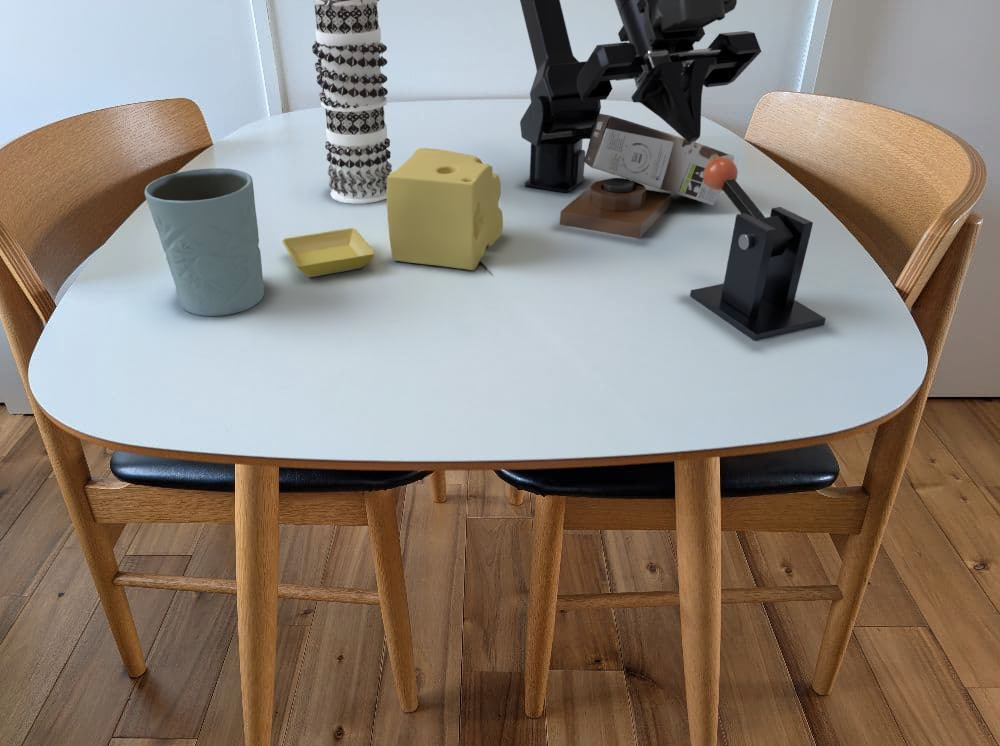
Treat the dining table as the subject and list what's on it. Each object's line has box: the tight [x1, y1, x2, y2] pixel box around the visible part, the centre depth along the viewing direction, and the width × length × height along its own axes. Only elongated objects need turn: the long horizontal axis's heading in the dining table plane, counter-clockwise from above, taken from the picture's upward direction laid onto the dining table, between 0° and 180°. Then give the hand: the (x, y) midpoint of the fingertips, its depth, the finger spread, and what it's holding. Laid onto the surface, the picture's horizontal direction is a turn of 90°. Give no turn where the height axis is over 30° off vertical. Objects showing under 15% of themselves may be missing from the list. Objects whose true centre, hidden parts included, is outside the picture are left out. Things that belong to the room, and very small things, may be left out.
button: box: [603, 177, 634, 194], centre depth 98 cm, size 4×4×2 cm
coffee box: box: [584, 113, 735, 206], centre depth 100 cm, size 9×6×16 cm
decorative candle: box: [311, 0, 393, 205], centre depth 102 cm, size 9×9×25 cm
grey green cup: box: [144, 167, 265, 317], centre depth 80 cm, size 10×10×12 cm
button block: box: [559, 178, 672, 239], centre depth 99 cm, size 10×12×4 cm
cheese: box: [386, 147, 504, 271], centre depth 90 cm, size 10×11×10 cm
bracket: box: [689, 206, 827, 342], centre depth 75 cm, size 10×8×10 cm
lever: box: [703, 157, 794, 257], centre depth 76 cm, size 12×3×3 cm, turn 21°
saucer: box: [281, 227, 376, 278], centre depth 89 cm, size 9×9×2 cm
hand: (694, 139), depth 81 cm, fingers closed
